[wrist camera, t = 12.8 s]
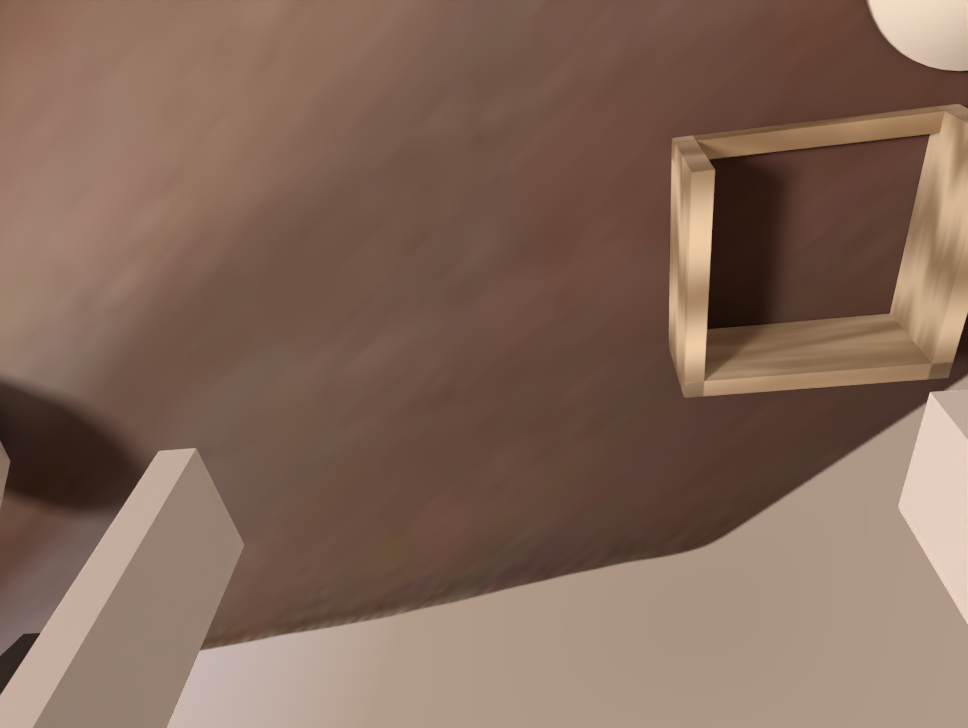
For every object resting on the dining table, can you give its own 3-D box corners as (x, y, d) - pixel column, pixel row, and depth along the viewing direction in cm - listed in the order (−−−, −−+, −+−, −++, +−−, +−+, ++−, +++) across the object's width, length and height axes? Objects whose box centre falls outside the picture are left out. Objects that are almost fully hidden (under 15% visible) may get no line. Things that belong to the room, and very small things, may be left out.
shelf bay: (671, 137, 41) (691, 172, 36) (958, 103, 39) (1020, 135, 35) (668, 346, 50) (684, 397, 45) (904, 326, 48) (948, 377, 43)
